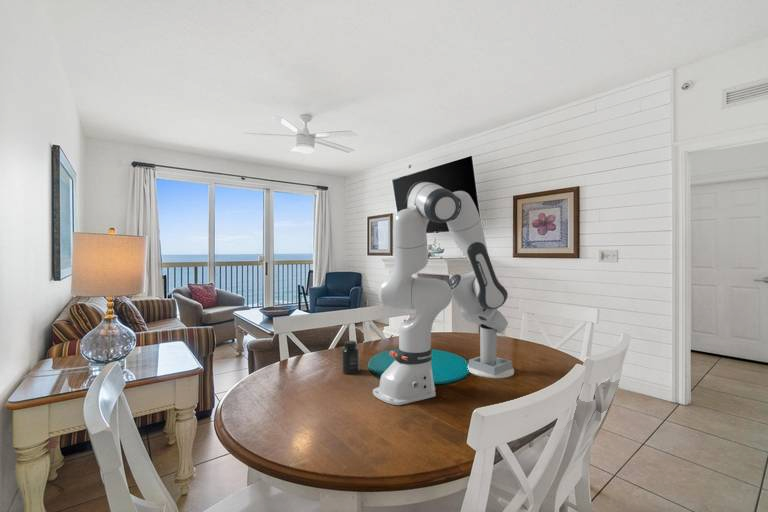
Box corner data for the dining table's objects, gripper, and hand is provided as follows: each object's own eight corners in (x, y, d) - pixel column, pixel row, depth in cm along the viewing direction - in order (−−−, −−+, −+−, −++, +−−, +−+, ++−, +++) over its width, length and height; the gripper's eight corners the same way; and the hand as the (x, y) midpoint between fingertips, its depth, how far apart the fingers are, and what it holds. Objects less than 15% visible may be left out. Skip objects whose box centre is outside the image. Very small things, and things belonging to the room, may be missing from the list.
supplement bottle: (360, 369, 146) (360, 339, 146) (357, 374, 140) (357, 344, 139) (343, 368, 147) (343, 339, 147) (340, 374, 140) (339, 344, 140)
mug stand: (496, 382, 131) (496, 371, 131) (458, 369, 145) (458, 359, 145) (523, 371, 142) (523, 361, 142) (484, 360, 156) (484, 351, 156)
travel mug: (499, 369, 141) (499, 320, 139) (483, 370, 140) (483, 321, 138) (494, 363, 147) (493, 316, 145) (478, 364, 146) (477, 316, 144)
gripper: (452, 310, 146) (470, 330, 151) (490, 319, 128) (509, 342, 134) (460, 298, 148) (477, 318, 153) (499, 305, 130) (517, 328, 136)
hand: (492, 329), depth 143 cm, fingers open, 6 cm apart
